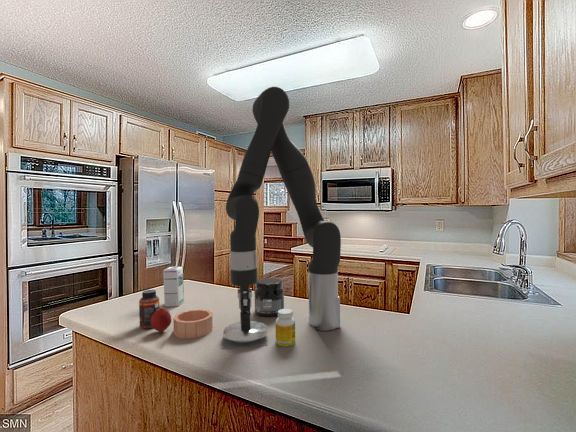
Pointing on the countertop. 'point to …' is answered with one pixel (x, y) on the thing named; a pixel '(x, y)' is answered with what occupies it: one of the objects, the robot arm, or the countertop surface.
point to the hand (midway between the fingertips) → (245, 327)
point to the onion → (161, 319)
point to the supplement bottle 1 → (147, 308)
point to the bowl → (193, 323)
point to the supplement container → (269, 297)
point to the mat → (230, 345)
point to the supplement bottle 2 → (285, 328)
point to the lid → (245, 331)
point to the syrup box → (173, 286)
